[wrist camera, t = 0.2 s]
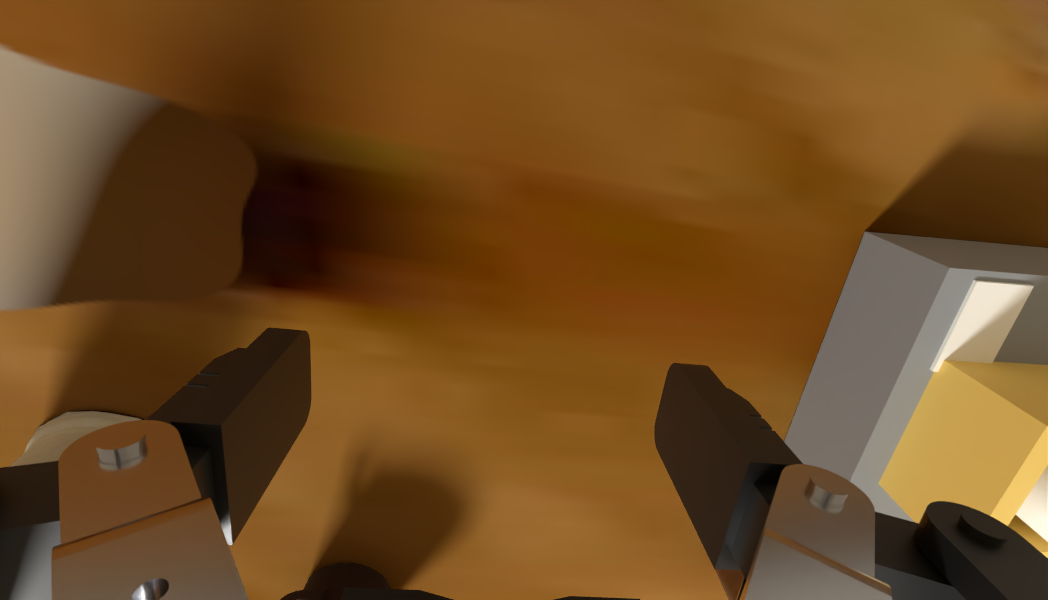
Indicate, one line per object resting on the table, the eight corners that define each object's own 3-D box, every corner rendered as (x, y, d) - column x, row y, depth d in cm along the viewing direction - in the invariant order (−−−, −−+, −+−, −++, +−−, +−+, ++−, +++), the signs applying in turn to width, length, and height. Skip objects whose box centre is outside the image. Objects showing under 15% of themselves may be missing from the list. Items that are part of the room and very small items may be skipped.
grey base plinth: (864, 231, 30) (1069, 319, 19) (1050, 248, 31) (1341, 339, 20) (772, 472, 37) (884, 632, 26) (925, 478, 38) (1091, 634, 27)
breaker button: (951, 387, 28) (1102, 491, 21) (1024, 391, 28) (1196, 495, 21) (917, 451, 29) (1046, 567, 23) (987, 455, 30) (1134, 569, 23)
